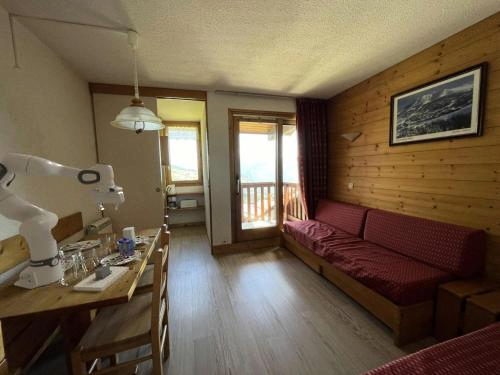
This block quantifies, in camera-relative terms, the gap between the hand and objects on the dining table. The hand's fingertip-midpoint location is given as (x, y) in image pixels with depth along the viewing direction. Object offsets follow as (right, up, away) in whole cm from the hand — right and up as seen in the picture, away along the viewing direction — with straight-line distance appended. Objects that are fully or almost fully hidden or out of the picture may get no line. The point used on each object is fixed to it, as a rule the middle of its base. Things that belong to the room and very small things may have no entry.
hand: (109, 209), depth 137 cm
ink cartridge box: (+2, -36, +17) cm, 40 cm away
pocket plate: (+6, -39, -14) cm, 42 cm away
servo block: (+6, -39, -14) cm, 42 cm away
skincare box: (-5, -34, +33) cm, 47 cm away
